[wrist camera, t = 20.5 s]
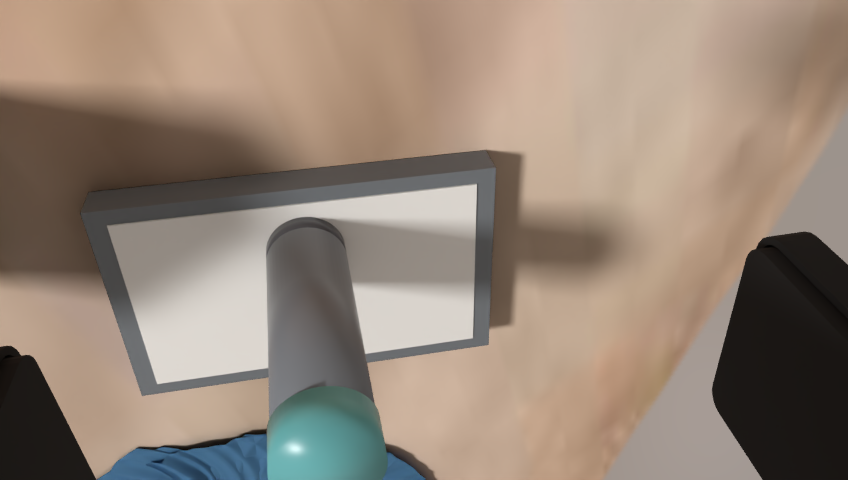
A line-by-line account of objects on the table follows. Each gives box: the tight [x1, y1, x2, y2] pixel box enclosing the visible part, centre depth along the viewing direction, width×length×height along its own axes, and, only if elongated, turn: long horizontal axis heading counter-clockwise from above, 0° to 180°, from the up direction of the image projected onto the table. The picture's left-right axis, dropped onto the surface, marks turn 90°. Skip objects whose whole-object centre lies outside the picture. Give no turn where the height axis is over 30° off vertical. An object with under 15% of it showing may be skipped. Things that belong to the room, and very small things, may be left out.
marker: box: [266, 217, 388, 480], centre depth 31 cm, size 4×4×14 cm
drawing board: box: [80, 150, 496, 396], centre depth 39 cm, size 20×12×2 cm, turn 91°
